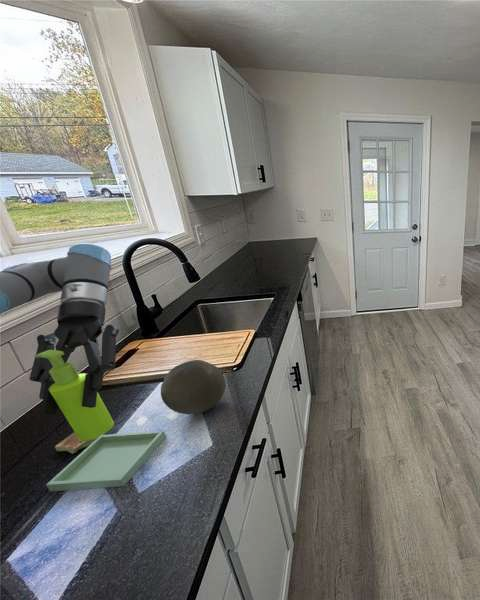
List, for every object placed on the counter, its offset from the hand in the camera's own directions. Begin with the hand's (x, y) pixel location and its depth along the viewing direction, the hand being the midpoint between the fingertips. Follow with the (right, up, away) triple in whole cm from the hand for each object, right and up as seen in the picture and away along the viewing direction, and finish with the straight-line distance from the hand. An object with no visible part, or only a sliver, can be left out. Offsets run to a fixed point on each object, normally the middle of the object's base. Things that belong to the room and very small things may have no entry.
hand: (68, 410), depth 63 cm
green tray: (0, -15, +10) cm, 18 cm away
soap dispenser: (-1, -7, +6) cm, 9 cm away
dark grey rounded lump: (+11, -9, +25) cm, 29 cm away
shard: (-15, -14, +17) cm, 27 cm away
